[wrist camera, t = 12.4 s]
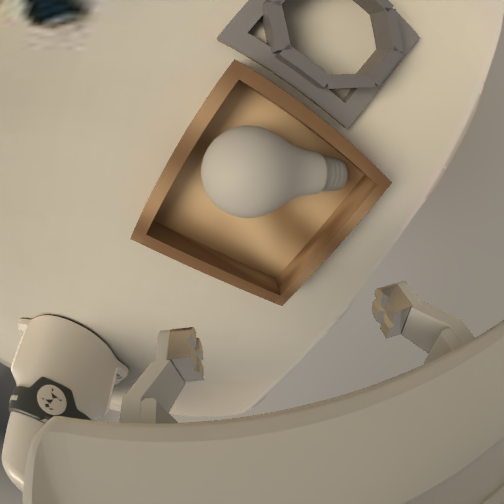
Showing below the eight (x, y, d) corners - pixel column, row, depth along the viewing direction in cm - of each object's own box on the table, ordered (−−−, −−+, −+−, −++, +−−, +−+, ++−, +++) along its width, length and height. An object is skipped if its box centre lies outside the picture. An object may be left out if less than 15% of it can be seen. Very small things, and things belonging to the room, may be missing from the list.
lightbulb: (360, 227, 19) (209, 238, 16) (317, 196, 24) (193, 200, 20) (379, 146, 16) (214, 129, 12) (329, 130, 21) (196, 120, 17)
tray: (276, 285, 28) (282, 305, 26) (138, 220, 22) (130, 238, 20) (374, 170, 22) (391, 182, 20) (232, 63, 16) (234, 59, 14)
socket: (343, 127, 20) (357, 133, 18) (217, 39, 15) (216, 33, 13) (414, 37, 15) (432, 36, 13) (307, -52, 10) (316, -64, 8)
